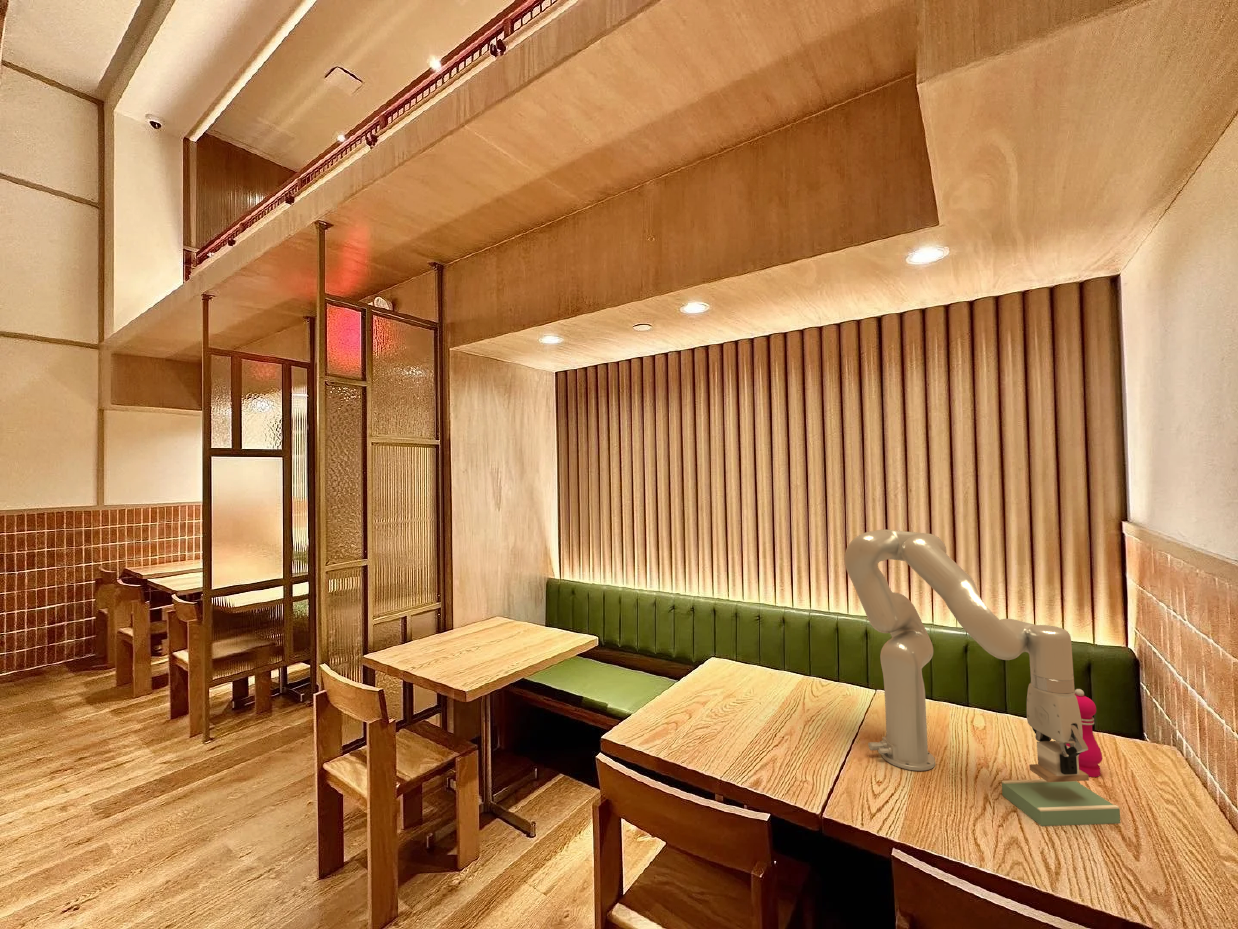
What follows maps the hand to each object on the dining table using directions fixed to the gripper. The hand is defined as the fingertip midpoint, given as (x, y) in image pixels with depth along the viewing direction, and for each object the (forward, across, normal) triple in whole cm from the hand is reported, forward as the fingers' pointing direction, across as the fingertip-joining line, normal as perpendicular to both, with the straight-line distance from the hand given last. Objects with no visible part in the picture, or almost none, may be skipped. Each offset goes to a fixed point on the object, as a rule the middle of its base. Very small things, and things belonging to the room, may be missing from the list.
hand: (1057, 765), depth 117 cm
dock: (+9, 0, 0) cm, 9 cm away
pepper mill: (+10, -15, +19) cm, 26 cm away
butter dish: (+2, 0, 0) cm, 2 cm away
